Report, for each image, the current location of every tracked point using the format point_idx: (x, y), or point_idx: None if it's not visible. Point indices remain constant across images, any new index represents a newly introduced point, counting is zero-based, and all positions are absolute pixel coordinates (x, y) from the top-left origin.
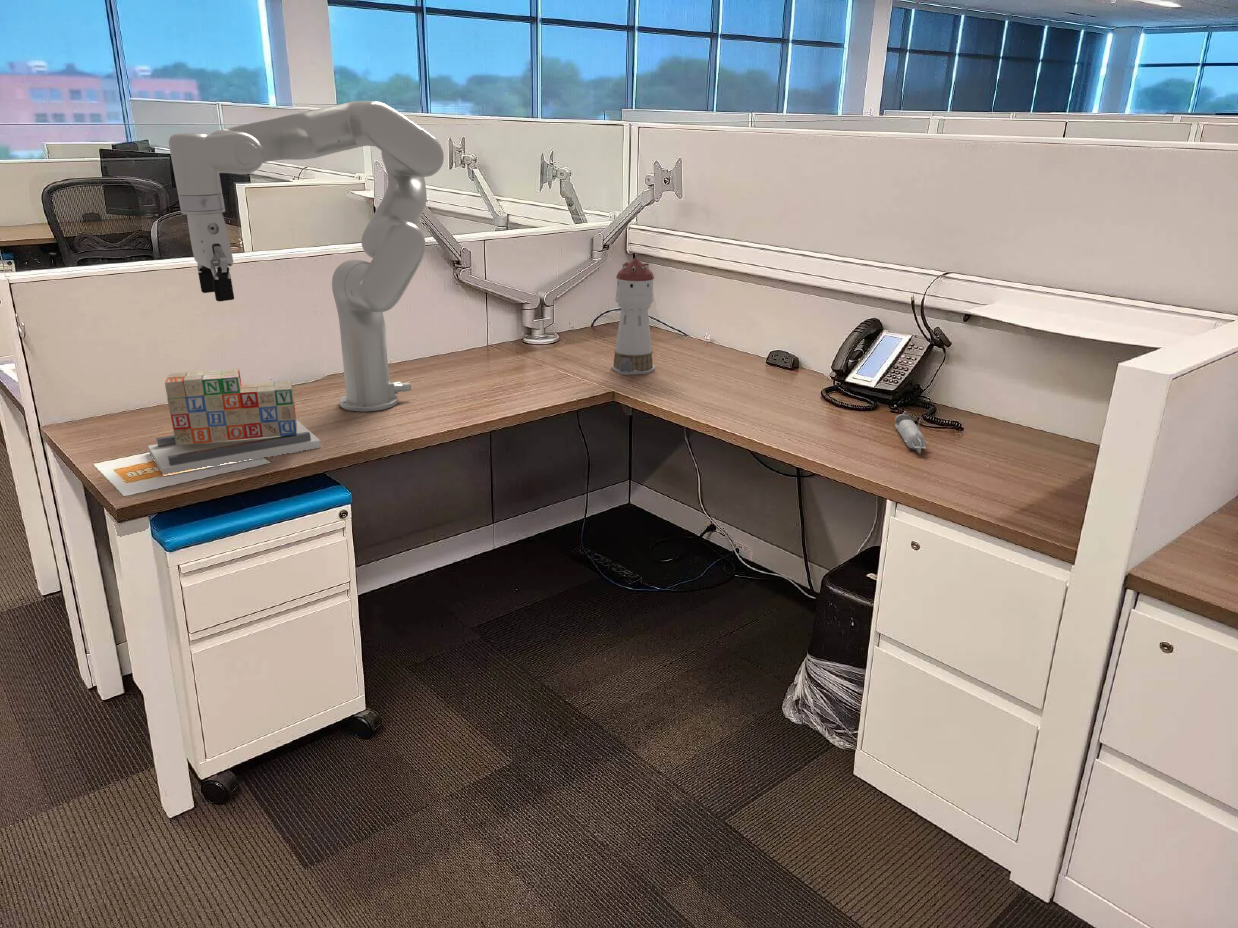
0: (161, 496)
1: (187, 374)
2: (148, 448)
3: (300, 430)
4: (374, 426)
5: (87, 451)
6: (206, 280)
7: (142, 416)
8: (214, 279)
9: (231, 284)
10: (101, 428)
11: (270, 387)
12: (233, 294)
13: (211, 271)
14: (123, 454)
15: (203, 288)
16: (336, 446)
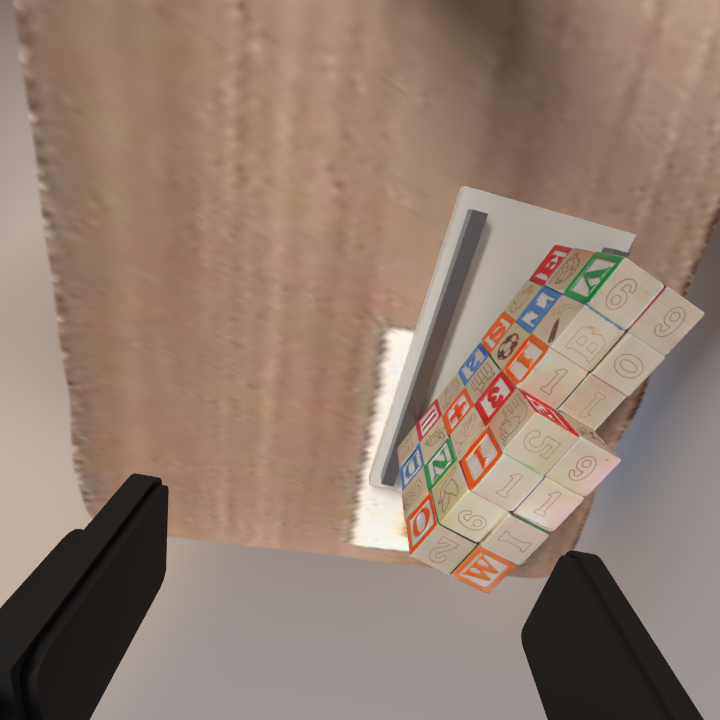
0: (570, 535)
1: (464, 533)
2: (369, 481)
3: (535, 226)
4: (626, 10)
5: (282, 531)
6: (107, 651)
7: (129, 397)
8: (100, 592)
9: (680, 691)
10: (164, 475)
11: (632, 350)
12: (614, 584)
13: (14, 710)
14: (341, 502)
15: (148, 605)
16: (650, 199)
